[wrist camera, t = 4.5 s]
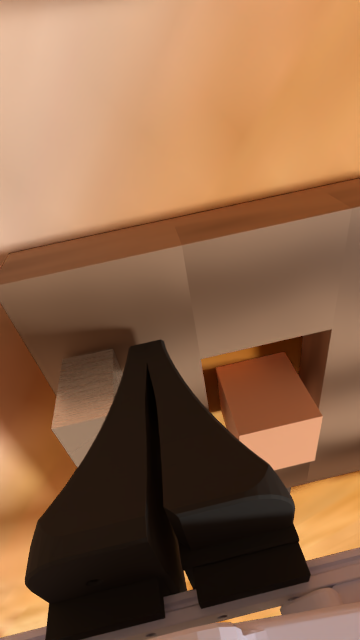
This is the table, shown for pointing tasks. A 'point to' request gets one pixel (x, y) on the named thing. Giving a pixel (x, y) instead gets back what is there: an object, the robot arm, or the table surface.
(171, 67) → the table surface
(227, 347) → the puzzle board
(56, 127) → the table surface
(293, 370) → the block
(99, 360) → the bar
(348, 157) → the table surface
